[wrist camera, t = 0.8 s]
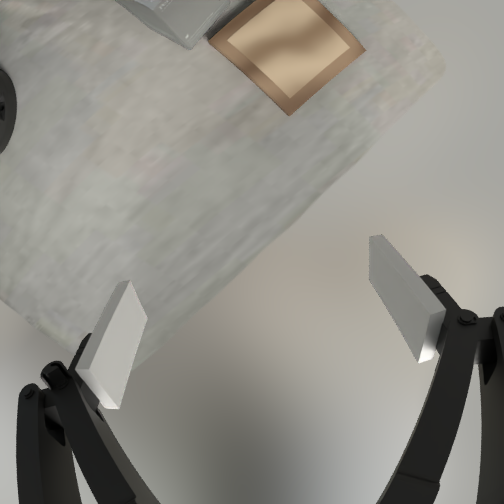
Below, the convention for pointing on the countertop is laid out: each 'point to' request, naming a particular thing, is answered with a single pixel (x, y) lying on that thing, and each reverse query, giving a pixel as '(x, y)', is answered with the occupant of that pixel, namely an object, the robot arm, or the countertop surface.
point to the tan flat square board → (287, 48)
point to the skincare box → (177, 17)
